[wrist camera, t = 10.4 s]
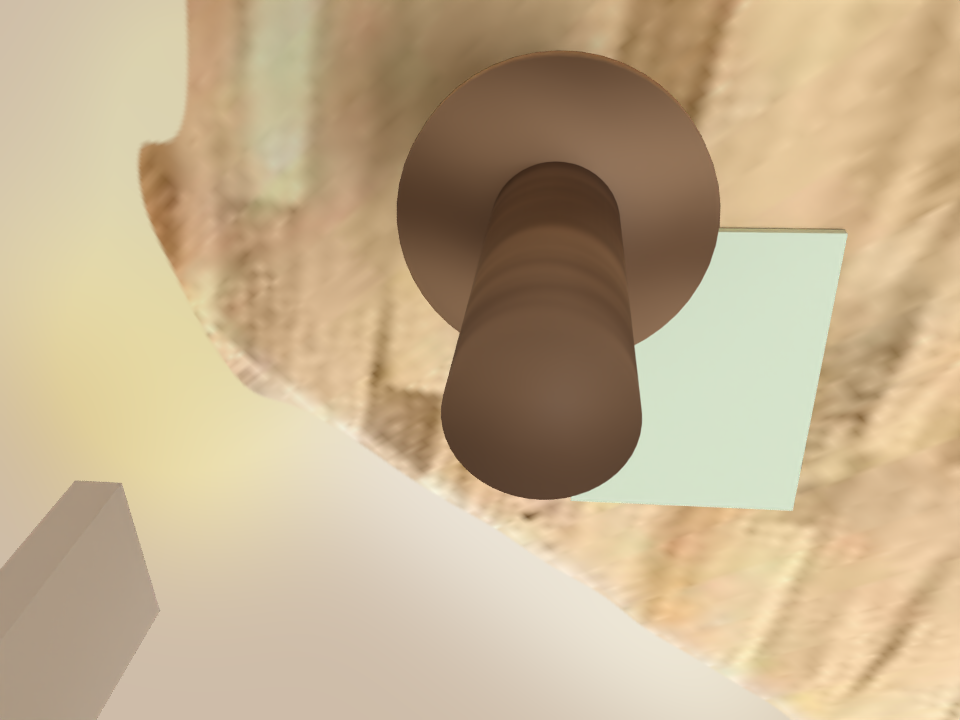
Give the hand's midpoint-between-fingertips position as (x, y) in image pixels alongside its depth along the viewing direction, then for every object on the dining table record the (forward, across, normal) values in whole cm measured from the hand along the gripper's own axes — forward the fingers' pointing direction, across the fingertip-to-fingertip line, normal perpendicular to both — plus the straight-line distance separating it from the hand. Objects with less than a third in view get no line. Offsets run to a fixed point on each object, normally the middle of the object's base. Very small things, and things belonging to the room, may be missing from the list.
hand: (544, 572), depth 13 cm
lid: (+16, 0, 0) cm, 17 cm away
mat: (+28, +6, -13) cm, 32 cm away
